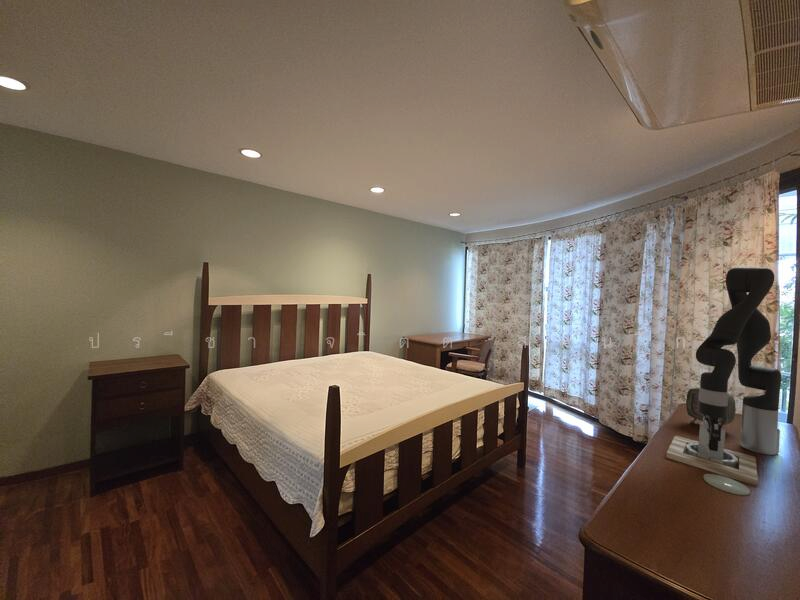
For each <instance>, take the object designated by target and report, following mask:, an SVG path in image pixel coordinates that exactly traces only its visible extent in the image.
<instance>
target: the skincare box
mask: <svg viewBox="0 0 800 600" xmlns="http://www.w3.org/2000/svg"><path fill="white" fill-rule="evenodd" d="M722 428H723V427H722ZM722 428H721V440H720V441H718V451H712V450H710V449H709V438H708V437H709V433H707V431H706V424H705V423H703V422H699V432H698V441H697V442H698V453H700V454H703V455H706V456H708V457H712V458H716V459H721V460H724V459H723V452H724V449H725V442H726V441H725V440H726V429H722ZM710 429H711V428H709V430H710ZM713 436H714V437H716V434H713Z"/></svg>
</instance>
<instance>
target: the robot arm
mask: <svg viewBox="0 0 800 600" xmlns="http://www.w3.org/2000/svg"><path fill="white" fill-rule="evenodd" d="M725 275H726V276H725V287H726V291H727V294H728V299H729V302H730V306H731V308H730V309H729V310H727V311H726V312H724V313H723V314H722V315H720V317H719V318H718V319H717V321H716V323H715V325H714V327H713V329H712V331H711V334H710V335H709V336H708V337H706V339H705V340H704V341H703V342H702V343H701V344H700V345H699V346H698V347H697V349H696V351H695V359H696V361H697V362H698V363H699V364H702V365H705V366H709V367H713V370H712V371H711V372H709V371H705V372H702V373H701V375H700V381H699V383H700V384H699V388H700V391H699V401H698V411H699V412H700V413H702V414H703V415H704V418H703V421H702V423H705V424H706V431H707V433H709V437H708V438H709V449H710V450H712V451H718V441H720V440H721V427H722V428H723V425H722V426H721V422H719V420H718V418H726V417H727V410H728V395H727V393H728V384H729V383H728V382H729V379H730V377H731V374H732V373H733V370H734V368H735V366H736V364H737V374H738V375H737V376H738V377H737V378H738V382H739V383H740V385H741V386H742V387H746V388H748V389H749V388H751V389H755V390H760V391H765V392H764V394H761V395H746V396H744V397H743V398H742V412H741V416H742V417H741V431H740V432H741V433H740V446H741V447H742V448H744V449H746V450H749V451H751V452H753V453H758V454H763V455H767V456H776V455H779V454H780V453H779V452H780V437H781V435H780V434H781V430H780V429H779V428H778V422H779V405H780V404H779V403H780V393H781V392H780V391H781V386H782V373H781V371H780V370H779V369H778V368H774V367H769V366H761V365H755V364H754V365H753V364H752V359H754V357H755V356H756V355H757V354H758V353H759V352H760V351H761V350H763V349H764V348H765V347H766V346H767V345H768V344H769V343H770V341H771V339H772V334H771V333H772V332H771V324H770V322H769V320H768V319H767V317H766V316H765V315H764V314H763V313H762V312H761V311H760V310H759V309H758V307H759V306H760V305H761V303H762V302H763V301H764V299H765V298H766V296H767V295H768V294H769V292H770V290H771V289H772V287H773V285H774V282H775V273H774V271H773V270H772V269H770V268H768V267H744V266H743V267H732V268H730V269H729V270H728V271H727V273H726V274H725ZM734 345H736V349H737V358H736V355H735V354H734V352H732V351H731V350H729V349H725V348H724V347H725V346H734ZM736 362H737V363H736ZM709 428H711V429H710V430H709ZM713 434H716V437H714V436H713ZM778 453H779V454H778Z"/></svg>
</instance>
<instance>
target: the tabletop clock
mask: <svg viewBox="0 0 800 600" xmlns="http://www.w3.org/2000/svg"><path fill="white" fill-rule="evenodd" d="M699 391H700V387H696V388H689V390H688V391H687V395H686V400H685V401H686V402H685V407H686V408H685V409H686V413H687V415H688V416H689V417H691V418H693V420H690V421H689V424H691V423H693V424H692V425H695V422H696V421H697V420H699V421H701V422H703V418H704V415H703V414H702V413H700V412H699V411H698V401H699ZM727 395H728V410H727V417H726V418H718V420H719V422H721V426H722V427H721V428H722V429H723V426H726V425H729V424H732V423H733V422H734V420H735V418H736V417H735V415H736V410H737V409H736V408H737V407H736V400H735V397H734V395H732V394H730V393H729V392H727Z"/></svg>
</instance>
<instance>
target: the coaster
mask: <svg viewBox="0 0 800 600" xmlns="http://www.w3.org/2000/svg"><path fill="white" fill-rule="evenodd" d="M703 479H704V481H705V482H706V483H707V484H708V485H710V486H711V487H714V488H716V489H719V490H721V491H723V492H727V493H728V494H729V493H730V494H733V495H738V496H747V495H749V494H750V492H751V491H750V488H749V487H748V486H747V485H744V484H743V483H741V482H739V481H738V480H736V479H733V478H730V477H727V476H724V475H720V474H716V473H705V474H703Z"/></svg>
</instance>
